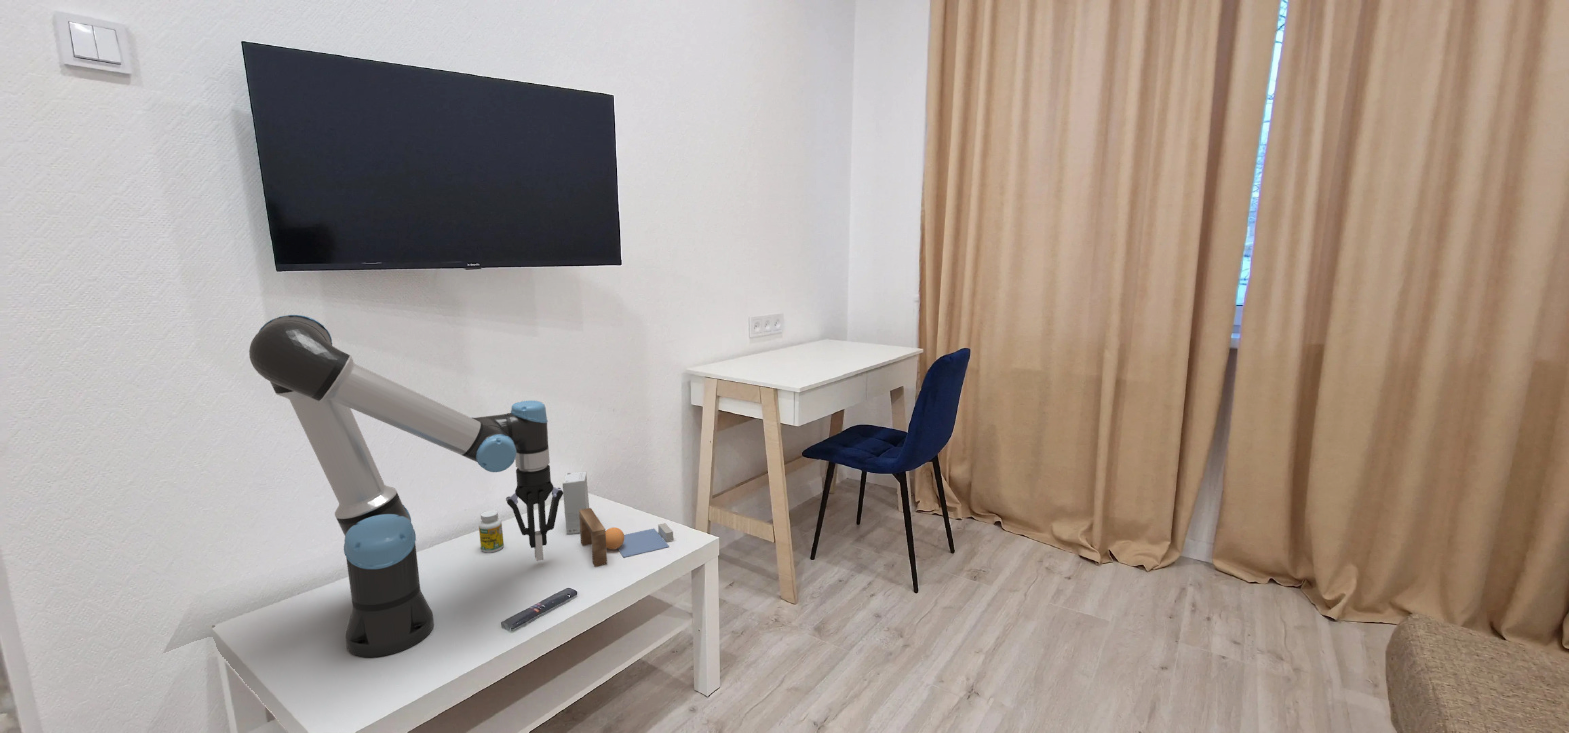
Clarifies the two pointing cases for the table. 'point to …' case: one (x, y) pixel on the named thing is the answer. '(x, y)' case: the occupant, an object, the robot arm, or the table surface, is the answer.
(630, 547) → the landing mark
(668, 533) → the stopper
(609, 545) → the ball
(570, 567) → the table surface
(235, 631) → the table surface
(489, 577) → the table surface
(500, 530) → the supplement bottle
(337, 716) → the table surface
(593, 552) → the bridge
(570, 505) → the skincare box
